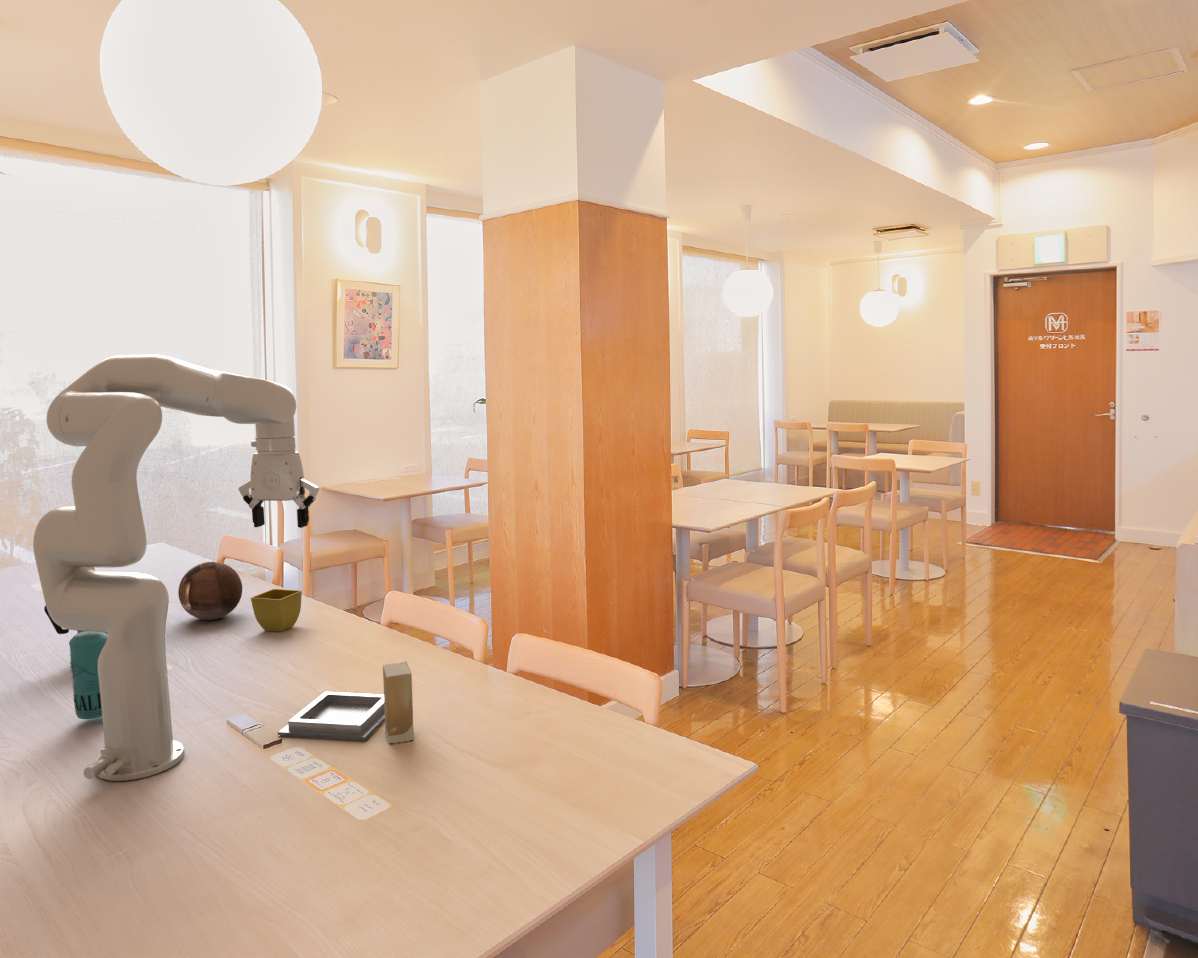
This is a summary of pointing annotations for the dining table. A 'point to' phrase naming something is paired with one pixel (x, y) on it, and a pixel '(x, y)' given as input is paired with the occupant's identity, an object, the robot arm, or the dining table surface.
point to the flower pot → (277, 609)
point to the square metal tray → (338, 717)
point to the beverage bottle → (86, 672)
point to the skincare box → (398, 702)
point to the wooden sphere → (210, 590)
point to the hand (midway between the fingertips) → (281, 526)
